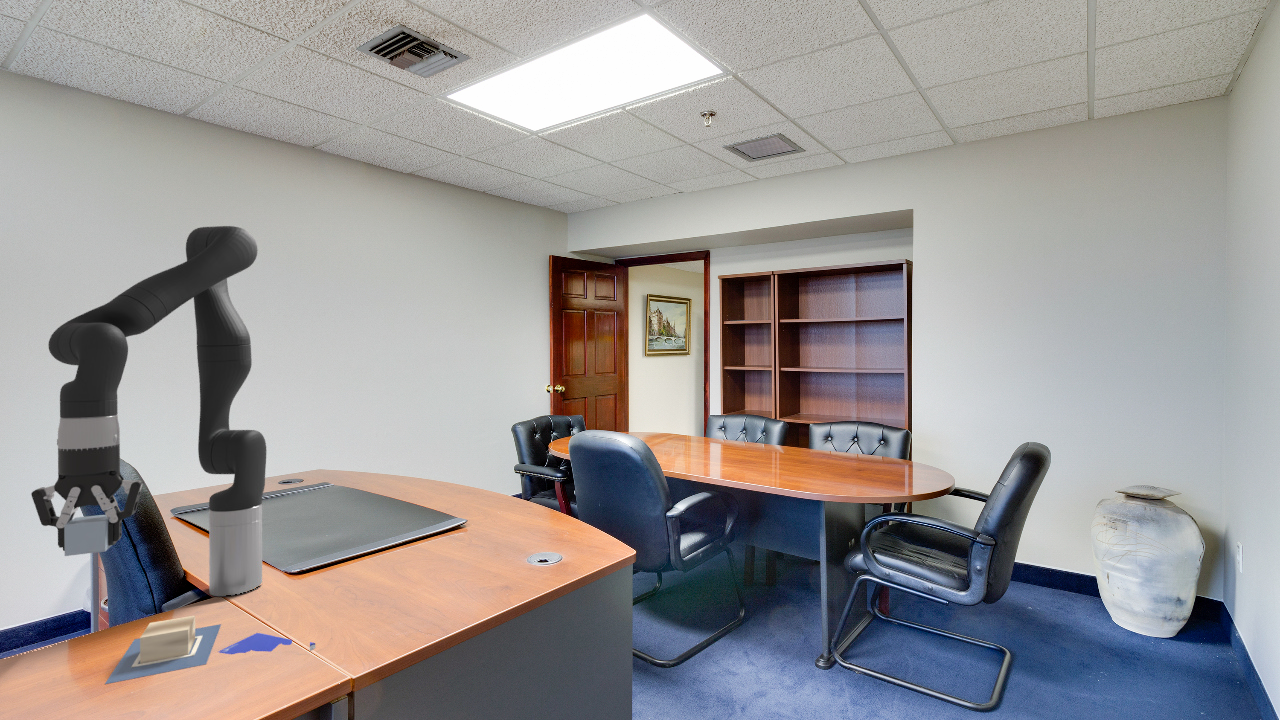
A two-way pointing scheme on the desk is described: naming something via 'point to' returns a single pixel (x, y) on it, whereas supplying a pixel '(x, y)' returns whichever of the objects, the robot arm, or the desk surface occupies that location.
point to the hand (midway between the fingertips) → (90, 546)
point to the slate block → (86, 535)
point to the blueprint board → (196, 657)
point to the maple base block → (167, 639)
